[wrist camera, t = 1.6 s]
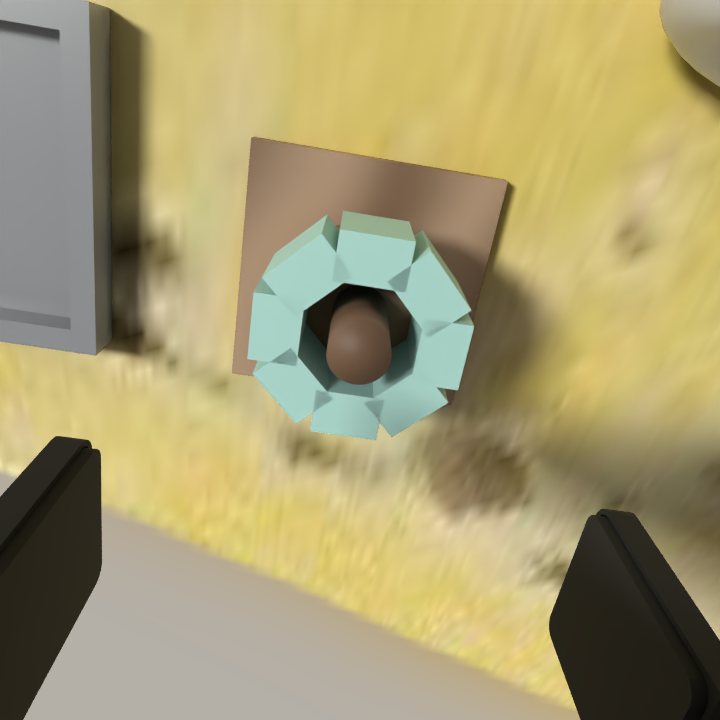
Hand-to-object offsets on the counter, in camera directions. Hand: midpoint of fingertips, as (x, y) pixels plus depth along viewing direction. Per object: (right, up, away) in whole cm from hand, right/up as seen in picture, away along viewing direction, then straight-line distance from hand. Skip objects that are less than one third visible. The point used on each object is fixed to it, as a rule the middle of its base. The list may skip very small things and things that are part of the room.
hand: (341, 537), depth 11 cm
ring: (0, +5, +11) cm, 12 cm away
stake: (0, +7, +14) cm, 16 cm away
